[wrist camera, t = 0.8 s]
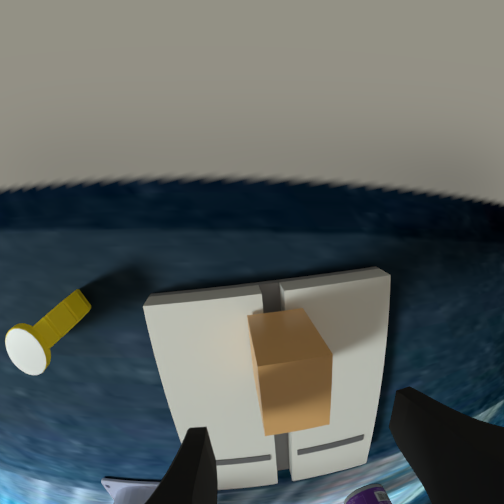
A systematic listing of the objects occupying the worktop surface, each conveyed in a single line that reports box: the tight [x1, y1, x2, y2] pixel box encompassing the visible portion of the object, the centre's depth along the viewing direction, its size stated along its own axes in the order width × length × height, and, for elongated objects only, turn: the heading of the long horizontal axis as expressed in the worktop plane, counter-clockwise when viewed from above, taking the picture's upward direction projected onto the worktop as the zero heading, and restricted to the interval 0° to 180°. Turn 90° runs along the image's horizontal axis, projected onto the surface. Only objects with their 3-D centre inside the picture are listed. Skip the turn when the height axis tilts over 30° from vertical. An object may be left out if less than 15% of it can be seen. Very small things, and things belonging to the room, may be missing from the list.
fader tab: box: [247, 308, 333, 436], centre depth 15 cm, size 4×3×7 cm
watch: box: [5, 289, 91, 375], centre depth 15 cm, size 6×3×6 cm, turn 123°
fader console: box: [143, 266, 391, 490], centre depth 19 cm, size 17×14×2 cm
